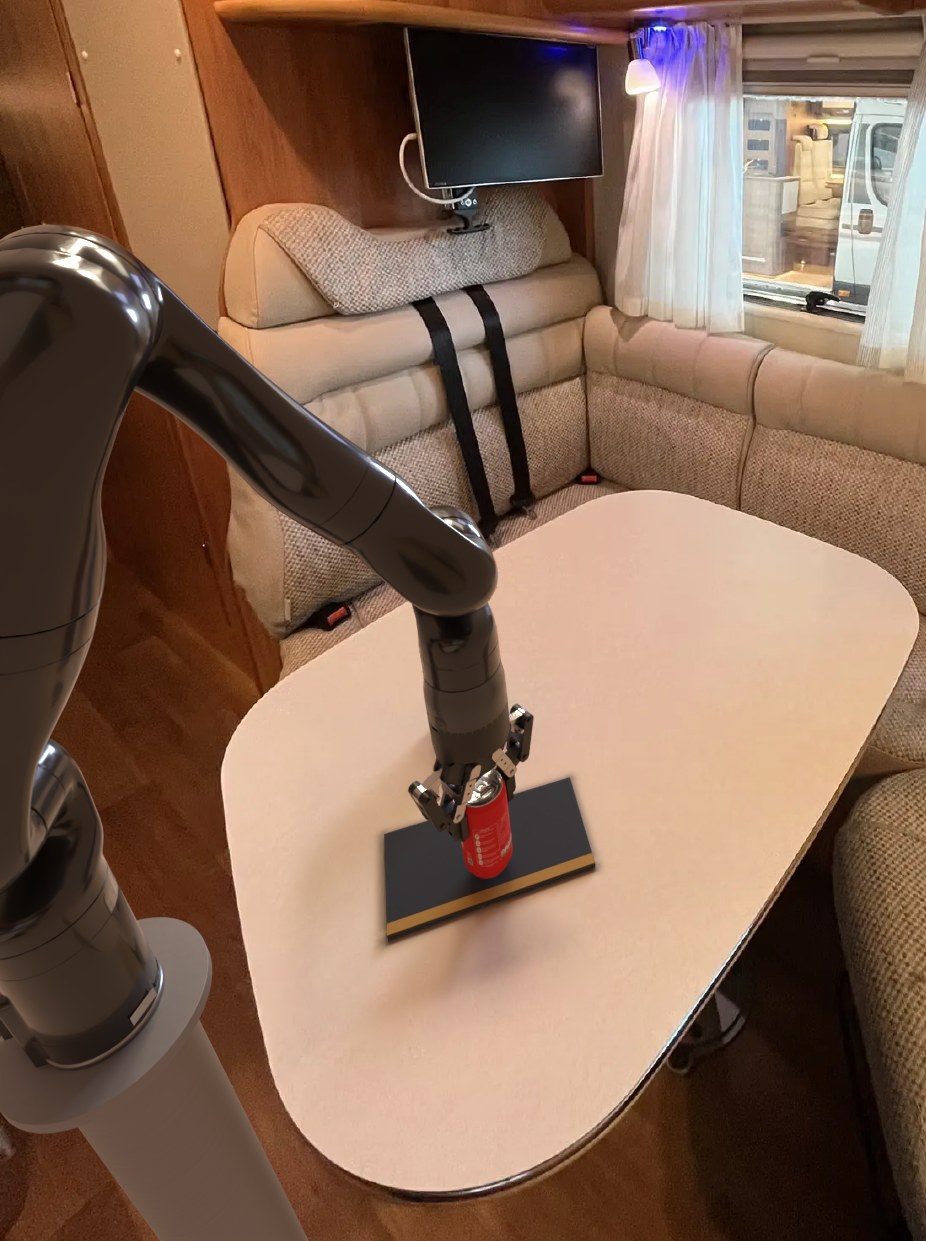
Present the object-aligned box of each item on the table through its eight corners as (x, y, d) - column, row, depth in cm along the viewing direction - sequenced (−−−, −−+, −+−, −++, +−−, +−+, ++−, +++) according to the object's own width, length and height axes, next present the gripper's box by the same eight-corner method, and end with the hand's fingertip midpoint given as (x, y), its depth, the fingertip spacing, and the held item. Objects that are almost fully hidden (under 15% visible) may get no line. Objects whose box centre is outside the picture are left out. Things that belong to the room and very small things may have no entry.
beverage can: (489, 891, 77) (479, 817, 72) (455, 866, 80) (442, 792, 74) (523, 852, 81) (515, 779, 76) (489, 828, 84) (479, 756, 78)
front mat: (387, 940, 74) (386, 937, 74) (384, 836, 84) (383, 833, 84) (595, 867, 82) (595, 863, 81) (570, 779, 92) (569, 776, 91)
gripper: (501, 641, 77) (513, 752, 84) (377, 725, 67) (403, 843, 74) (549, 675, 73) (557, 789, 80) (425, 770, 63) (447, 890, 70)
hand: (483, 814), depth 77 cm, fingers closed on beverage can, 5 cm apart
